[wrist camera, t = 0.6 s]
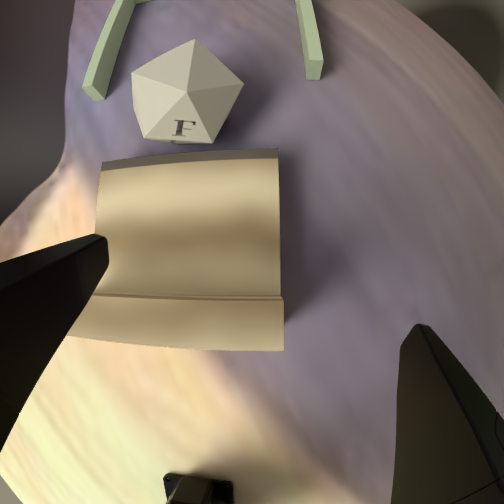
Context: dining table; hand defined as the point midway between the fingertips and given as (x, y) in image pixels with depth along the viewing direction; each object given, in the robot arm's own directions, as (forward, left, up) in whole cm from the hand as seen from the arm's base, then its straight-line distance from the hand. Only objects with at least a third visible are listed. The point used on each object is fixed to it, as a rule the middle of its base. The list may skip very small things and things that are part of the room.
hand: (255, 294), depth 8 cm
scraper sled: (+3, +6, -15) cm, 17 cm away
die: (+14, +6, -16) cm, 22 cm away
